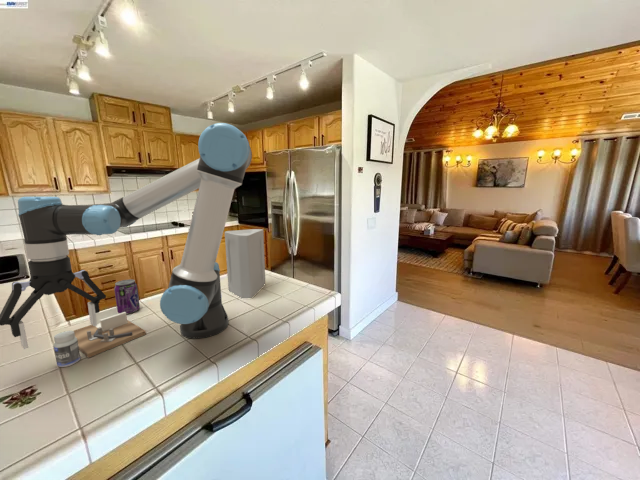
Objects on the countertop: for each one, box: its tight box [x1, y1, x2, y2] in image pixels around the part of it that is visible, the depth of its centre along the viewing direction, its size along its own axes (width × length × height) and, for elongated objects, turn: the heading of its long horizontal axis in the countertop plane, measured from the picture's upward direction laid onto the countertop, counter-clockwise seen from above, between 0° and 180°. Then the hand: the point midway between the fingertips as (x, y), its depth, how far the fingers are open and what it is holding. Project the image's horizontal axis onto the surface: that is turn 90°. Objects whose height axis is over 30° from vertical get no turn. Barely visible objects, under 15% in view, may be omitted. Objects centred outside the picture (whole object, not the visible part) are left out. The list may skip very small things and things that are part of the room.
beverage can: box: [113, 278, 141, 315], centre depth 102 cm, size 7×7×12 cm
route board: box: [73, 319, 147, 359], centre depth 86 cm, size 20×15×4 cm
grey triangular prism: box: [224, 228, 266, 299], centre depth 123 cm, size 19×15×28 cm
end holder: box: [95, 306, 128, 332], centre depth 91 cm, size 8×7×4 cm
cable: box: [93, 329, 132, 339], centre depth 83 cm, size 13×4×1 cm, turn 81°
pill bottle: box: [53, 330, 81, 368], centre depth 72 cm, size 5×5×8 cm
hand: (62, 334), depth 71 cm, fingers open, 13 cm apart
